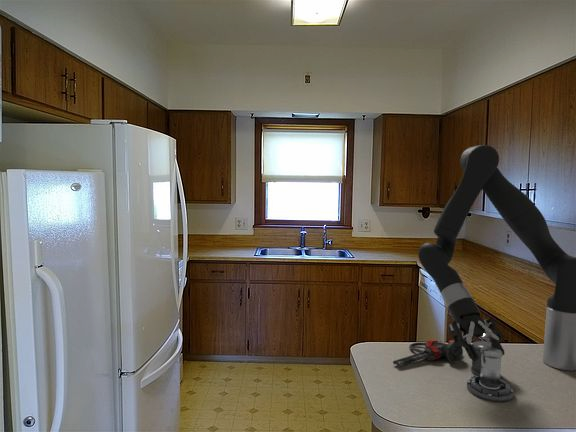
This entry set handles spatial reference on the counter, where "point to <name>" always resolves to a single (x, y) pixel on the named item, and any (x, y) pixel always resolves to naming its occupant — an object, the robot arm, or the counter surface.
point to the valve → (433, 352)
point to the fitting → (490, 368)
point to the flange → (490, 390)
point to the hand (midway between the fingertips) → (489, 357)
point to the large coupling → (477, 364)
